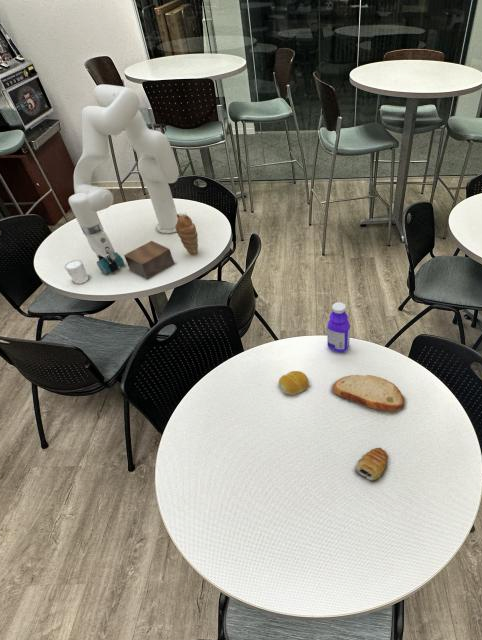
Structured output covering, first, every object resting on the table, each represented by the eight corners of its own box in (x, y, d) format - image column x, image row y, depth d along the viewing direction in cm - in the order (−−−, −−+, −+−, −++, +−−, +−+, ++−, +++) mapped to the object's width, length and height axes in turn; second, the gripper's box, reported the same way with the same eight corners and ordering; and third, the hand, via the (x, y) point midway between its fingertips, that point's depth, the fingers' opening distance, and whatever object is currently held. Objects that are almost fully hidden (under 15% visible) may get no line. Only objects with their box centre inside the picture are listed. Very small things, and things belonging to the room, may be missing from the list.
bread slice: (328, 385, 131) (328, 376, 128) (380, 367, 135) (380, 359, 132) (354, 428, 119) (355, 420, 117) (409, 407, 124) (411, 399, 121)
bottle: (351, 345, 142) (353, 303, 129) (345, 355, 139) (346, 314, 126) (331, 339, 145) (331, 297, 132) (325, 350, 141) (324, 308, 128)
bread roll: (313, 387, 130) (312, 378, 127) (288, 399, 127) (287, 390, 124) (299, 371, 135) (298, 362, 132) (274, 382, 132) (273, 374, 129)
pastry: (371, 446, 115) (372, 438, 112) (393, 458, 112) (395, 450, 109) (353, 471, 110) (353, 464, 107) (375, 485, 107) (377, 477, 104)
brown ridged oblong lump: (180, 256, 183) (167, 217, 170) (190, 247, 188) (179, 208, 175) (197, 260, 181) (186, 220, 167) (207, 251, 186) (197, 211, 172)
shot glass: (84, 285, 171) (76, 270, 166) (69, 283, 172) (60, 268, 167) (93, 275, 175) (85, 260, 170) (78, 274, 177) (70, 259, 171)
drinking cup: (117, 262, 182) (112, 250, 177) (126, 266, 179) (120, 254, 175) (100, 271, 177) (94, 259, 173) (108, 276, 175) (102, 264, 170)
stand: (156, 255, 185) (151, 240, 180) (174, 263, 180) (169, 249, 174) (129, 270, 177) (123, 255, 172) (147, 279, 172) (141, 264, 167)
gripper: (113, 229, 162) (130, 270, 175) (88, 217, 169) (106, 257, 183) (96, 238, 158) (115, 279, 171) (71, 225, 165) (91, 265, 179)
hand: (110, 267), depth 177 cm, fingers closed on drinking cup, 5 cm apart
